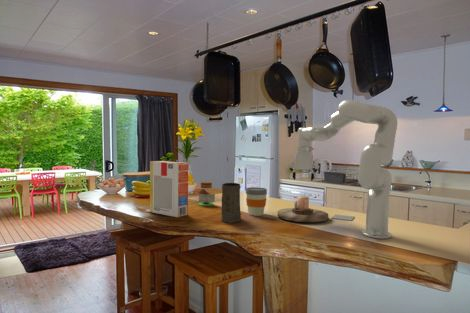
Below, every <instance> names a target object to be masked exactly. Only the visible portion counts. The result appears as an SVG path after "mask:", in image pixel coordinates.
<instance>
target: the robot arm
mask: <svg viewBox="0 0 470 313" xmlns="http://www.w3.org/2000/svg"><path fill="white" fill-rule="evenodd" d="M355 121H356V122H360V123H363V124H370V125H377V129H376V131H375V134H374V140H373V143H370V144H367V145H366V146H365V147H363V150H362V151H361V155H360V160H359V166H358V171H357V174H358V175H357V181H358V184H359V186H361V187H362V188H363V189H365V190H367V192H366V193H367V194H366V209H365V211H366V212H365V214H366V215H365V229H363V230H361V234H362V236H364V237H368V238H372V239H378V240H379V239H380V240H381V239H383V240H385V239H387V240H388V239H390V238H392V233H390V232H389V215H390V214H389V210H390V208H389V207H390V194H391V193H390V192H391V187H392V182H393V179H392V178H393V177H392V174H391V172H390V171H389V170H388V169H387V168H384V167H382V166H385V165H387V164H390V163H391V162H392V159H393V156H394V154H393V153H394V148H395V142H396V135H397V130H398V118H397V116H396V114H395V112H394V111H393V110H391V109H390V108H388V107H386V106H382V105H376V104H369V103H364V102H361V101H359V100H354V99H345V100H343V101H341V102H340V103H339V105H338V107H337V111H335V112H334V113H332V114H331V115H330V122H329V123H328V124H327V125H325V126H323V127H322V126H309V127H298V128H297V147H296V148H297V151H296V152H295V156H294V161H293V162H291V163H289V164H288V165H287V166H288V168H289V170H290V172H291V173H292V179H293V181H295V180H296V176H297V175H296V174H297V173H296V171H297V170H302V171H310V172H311V174H310V181H311V182H312V181H313V180H315V173H317V172H318V170H319V169H320V165H318V164H317V163H315V162H314V154H313V152H312V151H314V150H315V149H314V147H312V142H325V141H328V140H329V139H332V138H333V137H334V136H336V135H337V134H339V132H340V131H341V130H342V129H343V128H344V127H346V126H347V125H350V124H352V123H353V122H355ZM293 165H294V166H293ZM292 166H293V167H294V168H293V167H292ZM314 167H315V169H314Z"/></svg>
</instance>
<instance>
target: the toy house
mask: <svg viewBox="0 0 470 313" xmlns="http://www.w3.org/2000/svg"><path fill="white" fill-rule="evenodd" d="M212 184H213V182H211V181H201V182H200V188H201V189H199V191H198V193H197V195H198V203H197V205H198V206H200V207H211V206H214V205H215V201H216V199H215V198H216V197H215V196H216V195H215V193H209V192H207V191H206V190H205V189H212V187H213V185H212Z"/></svg>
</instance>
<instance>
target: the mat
mask: <svg viewBox="0 0 470 313" xmlns="http://www.w3.org/2000/svg"><path fill="white" fill-rule="evenodd" d="M330 218H331V219H333V220H339V221H350V222H352V221H353V220H354V219H355V216H352V215H344V214H334V215H333V216H331V217H330Z"/></svg>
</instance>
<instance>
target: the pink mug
mask: <svg viewBox="0 0 470 313" xmlns="http://www.w3.org/2000/svg"><path fill="white" fill-rule="evenodd" d="M296 198H297V199H296V201H297V210H300V211H309V206H310V205H309V203H310V202H309V201H310V196H304V195H298V196H297V197H296Z"/></svg>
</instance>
